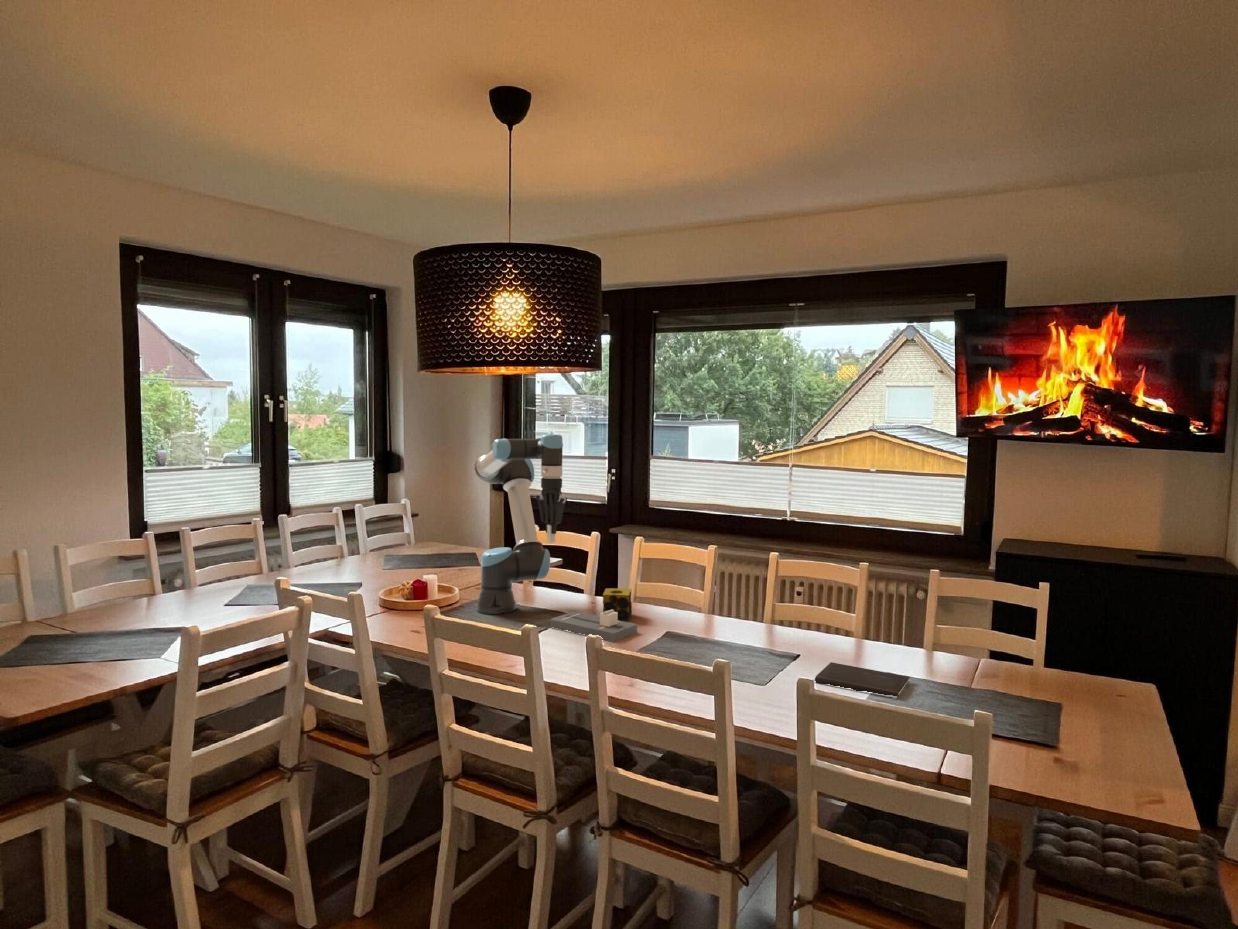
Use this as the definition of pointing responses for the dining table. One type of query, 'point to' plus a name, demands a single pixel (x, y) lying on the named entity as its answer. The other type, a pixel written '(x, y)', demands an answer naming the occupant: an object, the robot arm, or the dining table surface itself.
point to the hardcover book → (861, 679)
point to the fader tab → (608, 618)
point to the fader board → (593, 626)
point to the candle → (618, 602)
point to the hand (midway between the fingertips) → (551, 542)
